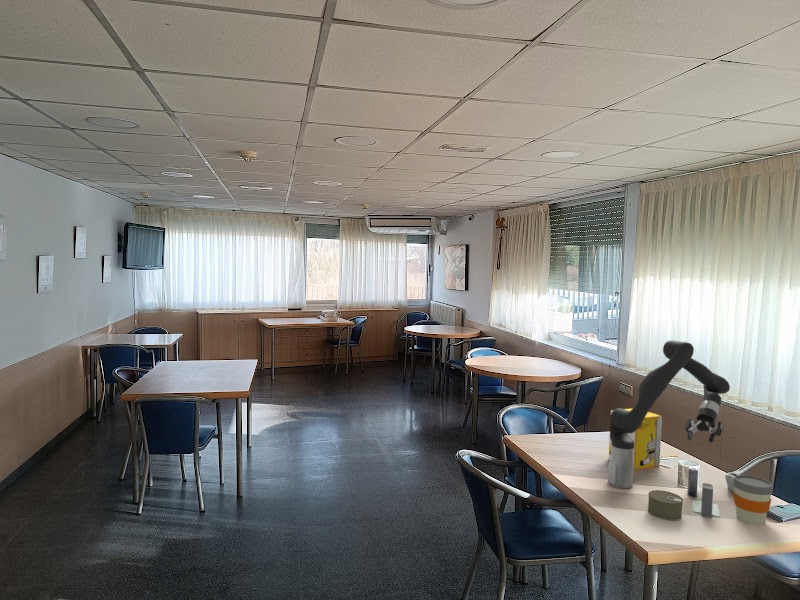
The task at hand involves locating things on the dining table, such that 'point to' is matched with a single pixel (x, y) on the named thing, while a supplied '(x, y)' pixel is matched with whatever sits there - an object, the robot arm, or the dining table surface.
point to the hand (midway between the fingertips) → (699, 440)
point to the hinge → (730, 480)
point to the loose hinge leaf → (692, 481)
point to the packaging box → (646, 442)
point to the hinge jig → (706, 502)
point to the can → (665, 505)
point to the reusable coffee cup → (752, 498)
